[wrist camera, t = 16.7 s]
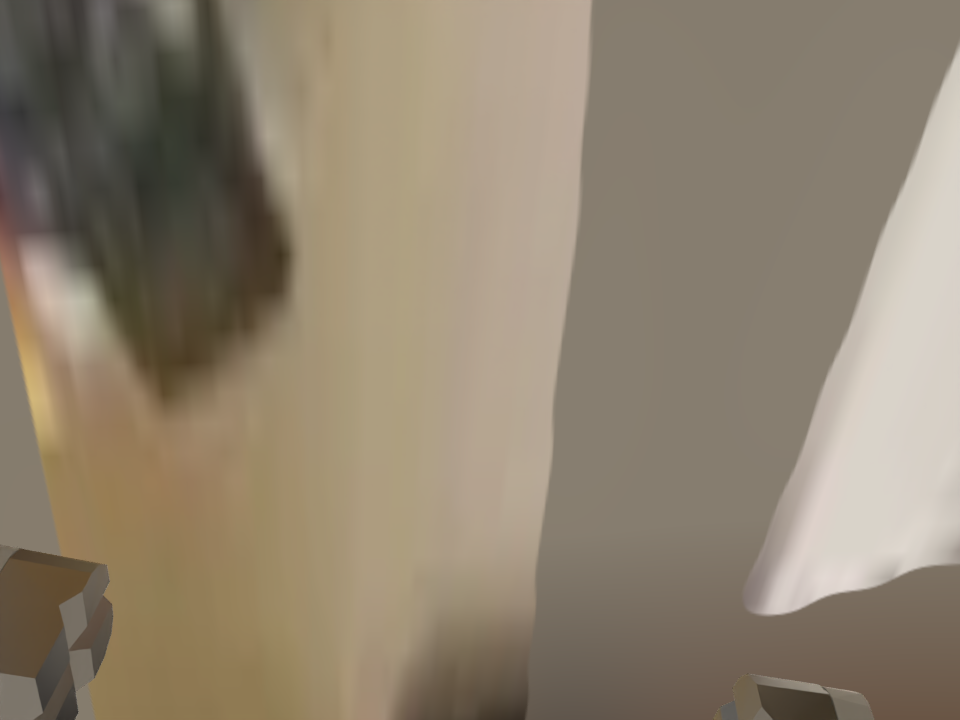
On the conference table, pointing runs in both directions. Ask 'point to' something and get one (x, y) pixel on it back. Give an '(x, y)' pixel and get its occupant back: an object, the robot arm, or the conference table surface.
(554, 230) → the conference table surface
